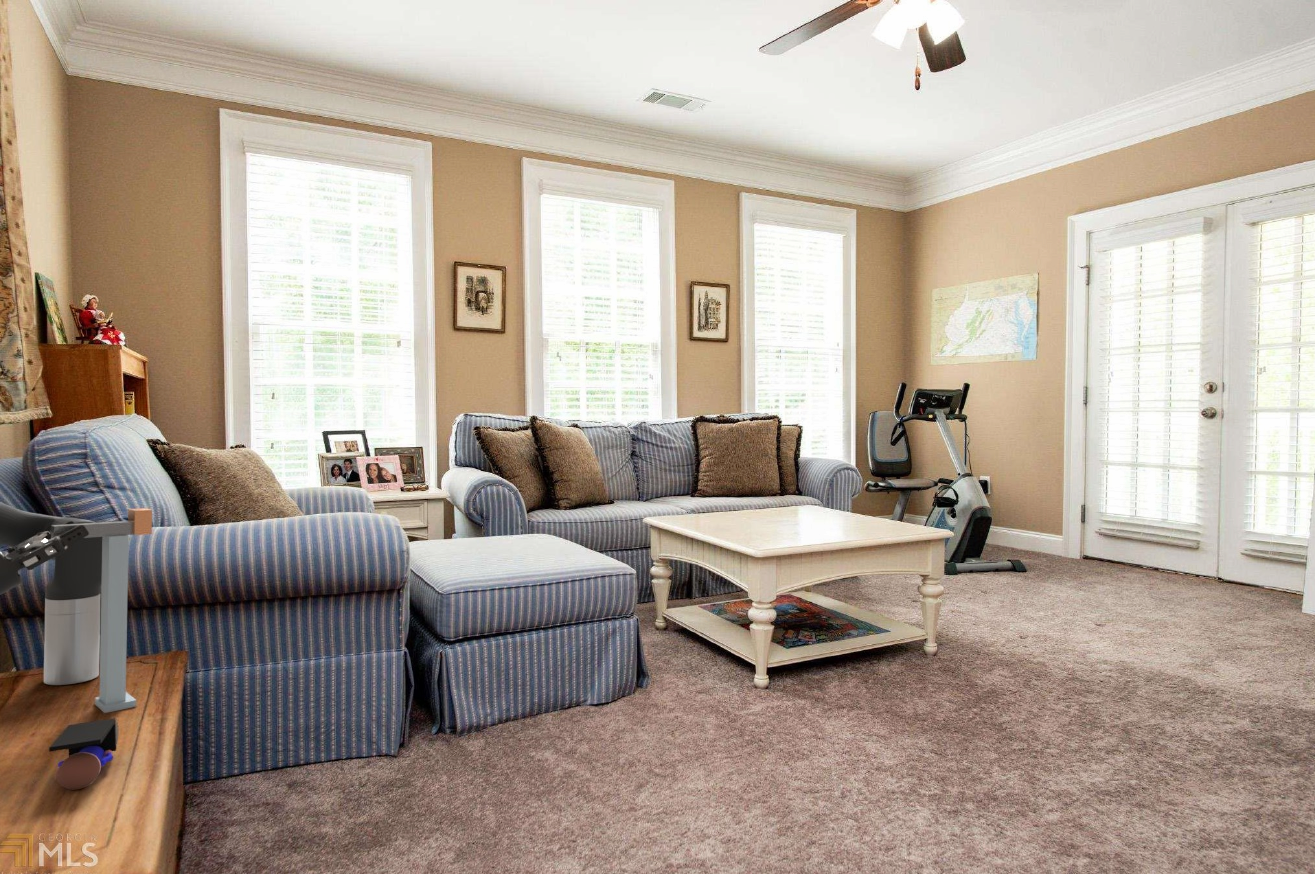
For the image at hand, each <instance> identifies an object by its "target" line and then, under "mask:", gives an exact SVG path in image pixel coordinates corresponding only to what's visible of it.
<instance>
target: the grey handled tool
mask: <svg viewBox="0 0 1315 874" xmlns="http://www.w3.org/2000/svg"><path fill="white" fill-rule="evenodd" d="M152 524H153V509H149V508H144V507H143V508H128V509H127V520H123V521H122V520H120V521H105V522H103V521H102V522H96V523H84V524H65V525H51V539H52V538H54V537H56V536H60V535H61V534H63V533H65V532H67V531H69V530H71V529H73V528H75V527H77V526H78V525H84V526H85V528H86V529H87V531H88V532H89V534H88V536H86V537H84V538H90V537H105V536H120V535H128V536H130V535H133V536H144V535H153V534H152V533H153V529H152V528H153V525H152Z"/></svg>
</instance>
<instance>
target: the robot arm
mask: <svg viewBox="0 0 1315 874" xmlns="http://www.w3.org/2000/svg"><path fill="white" fill-rule="evenodd" d="M84 523H97V522H96V521H93V520H89V519H84V518H76V517H75V518H74V517H63V516H55V515H47V514H42V513H34V512H29V511H25V510H22V509H18V508H17V507H16V508H15V507H13V506H11V505H9V504H7V503H4V502H2V501H0V546H5V547H9V548H8V549H7V550H6V552H7V553H8V554H6V555H5V554H4V553H3V552H2V551H1V550H0V596H1V595H3V594H5V593H6V592H8V591H10V590H12V589H13V588H15V587H17V586H19V585H21V584H22V583H23V578H22V576H21V574H19V571H21V570H23V569H25V568H26V570H27V571H31V570H34V569H35V568H37V567H39V566H41V565H42V564H44V563H46V562H48V561H50V560H54V572H53V573H54V574H53V577H52V580H51V581H50V582H48V583H47V584H46V585H45V593H44V594H45V595H44V643H43V644H44V646H43V647H44V648H43V649H44V650H43V651H44V652H43V653H44V654H43V655H44V656H43V658H44V659H43V684H46V685H49V686H62V685H63V686H65V685H72V684H77V683H78V684H79V683H83V682H88V681H91V680H93V679H96V678H98V677H99V676H100V641H101V587H102V537H90V538H84V537H86V536H88V534H89V532H88V531H87V529H86V528H85V526H84V525H78V526H77V527H75V528H73V529H71V530H69V531H67V532H65V533H63V534H61V535H60V536H56V537H54V538H52V539H51V525H65V524H84Z"/></svg>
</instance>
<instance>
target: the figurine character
mask: <svg viewBox="0 0 1315 874" xmlns="http://www.w3.org/2000/svg"><path fill="white" fill-rule="evenodd" d="M116 720H117V719H116V717H114V718H109V719H101V720H93V721H89V722H88V721H87V722H81V723H80V722H79V723H74V724H73V723H72V724H68V726H66V728H64V730H63V731H62V732H61V733H60V735H58V737H57V738H55V740H54V741H53V743H52V744H51V745H50V746H49V747H48V752H56V751H63V750H68V757H67V758H65V759H63V760H61V761H59V762H58V763H57V766H58V769H57V772H56V779H57V782H58V784H59V785H60V786H61V787H63V788H65V789H67V790H71V791H72V790H73V791H74V790H77V791H78V790H80V789H83V788H86V787H88V786H91V784H92V783H94V782H95V780H97V778H98V777H99V775H100V772H101V768H102V767H103V766H105V765H106V764H107V763H108V762H111V761H112V760H113V759H114V756H113V752H116V751H117V744H118V741H119V731H120V730H119V723H118V722H117V721H116Z"/></svg>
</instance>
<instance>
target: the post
mask: <svg viewBox="0 0 1315 874" xmlns="http://www.w3.org/2000/svg"><path fill="white" fill-rule="evenodd" d="M129 537H130V535H120V536H105V537H102V585H101V590H100V648H99V696H97V697H94V705H95V706H96V707H97V708H98V709H100V711H102V712H103V714H107V713H111V712H117V711H122V710H126V709H131V708H136V707H137V699H136V698H135V697H133V696H132V695H131V694H130V693H128V692H127V689H126V688H127V687H126V686H127V646H128V644H127V641H128V640H127V639H128V638H127V636H128V633H127V632H128V592H129V591H128V590H129V588H128V586H129V585H128V584H129V583H128V581H129V540H130V539H129Z"/></svg>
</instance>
